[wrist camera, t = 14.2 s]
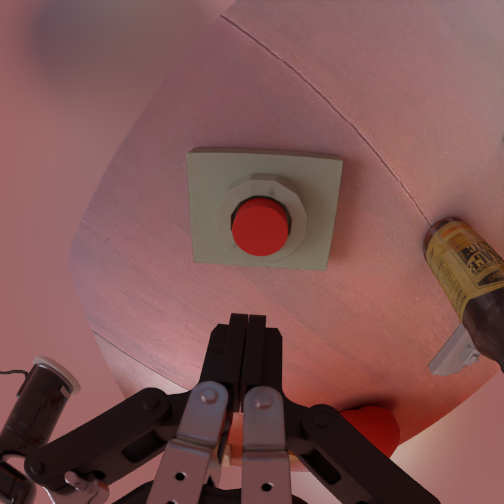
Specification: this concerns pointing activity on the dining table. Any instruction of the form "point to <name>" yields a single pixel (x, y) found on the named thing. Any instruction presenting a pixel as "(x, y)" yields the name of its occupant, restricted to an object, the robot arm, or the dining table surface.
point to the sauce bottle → (470, 282)
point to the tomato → (376, 427)
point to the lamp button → (260, 227)
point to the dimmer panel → (227, 456)
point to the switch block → (263, 186)
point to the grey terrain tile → (455, 354)
